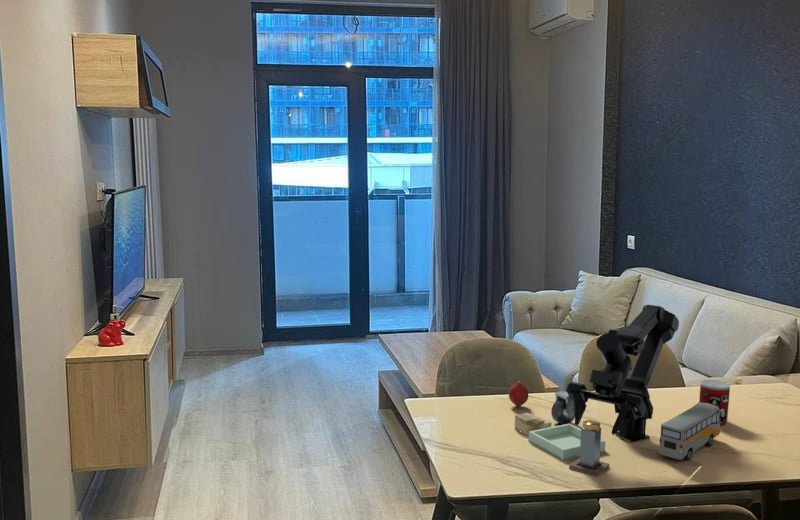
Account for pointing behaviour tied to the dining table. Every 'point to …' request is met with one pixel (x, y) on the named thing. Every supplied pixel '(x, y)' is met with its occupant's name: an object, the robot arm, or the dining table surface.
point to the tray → (560, 441)
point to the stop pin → (590, 445)
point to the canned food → (716, 396)
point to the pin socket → (597, 472)
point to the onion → (518, 394)
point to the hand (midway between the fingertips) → (594, 429)
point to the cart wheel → (563, 408)
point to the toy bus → (690, 431)
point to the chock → (530, 423)
